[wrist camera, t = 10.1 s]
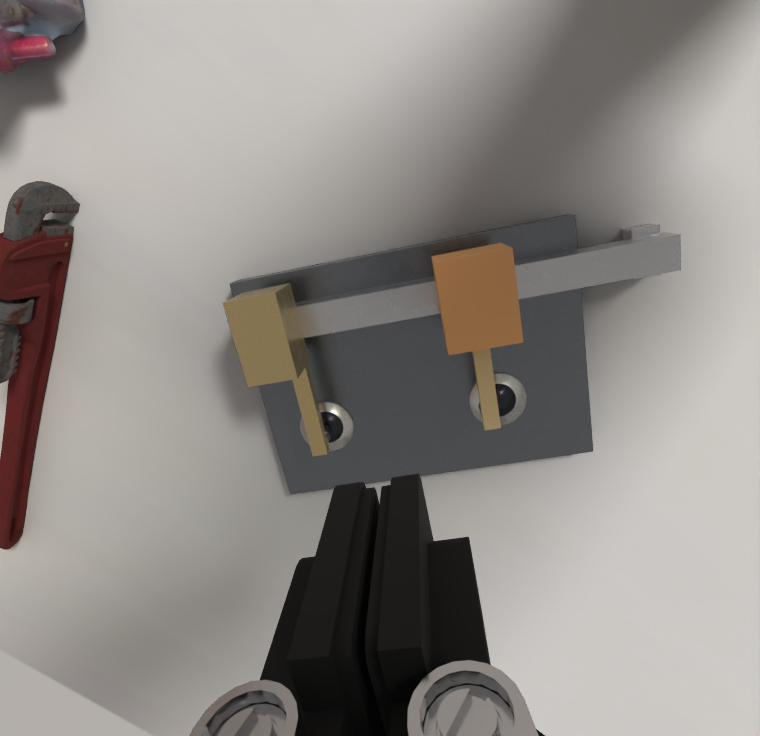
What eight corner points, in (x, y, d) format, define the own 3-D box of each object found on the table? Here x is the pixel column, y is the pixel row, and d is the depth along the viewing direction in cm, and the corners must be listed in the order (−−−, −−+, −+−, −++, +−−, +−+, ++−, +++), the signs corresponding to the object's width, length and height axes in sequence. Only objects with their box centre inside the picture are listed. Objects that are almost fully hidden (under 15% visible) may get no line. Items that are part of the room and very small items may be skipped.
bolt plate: (650, 198, 31) (716, 196, 24) (658, 431, 35) (715, 483, 29) (237, 280, 34) (194, 299, 27) (294, 483, 39) (270, 541, 32)
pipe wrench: (4, 525, 43) (57, 176, 33) (33, 535, 43) (94, 191, 33) (-66, 581, 36) (-27, 172, 26) (-32, 593, 37) (19, 190, 27)
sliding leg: (496, 240, 30) (512, 248, 25) (517, 407, 33) (534, 443, 28) (430, 253, 30) (433, 263, 25) (457, 417, 33) (464, 453, 29)
